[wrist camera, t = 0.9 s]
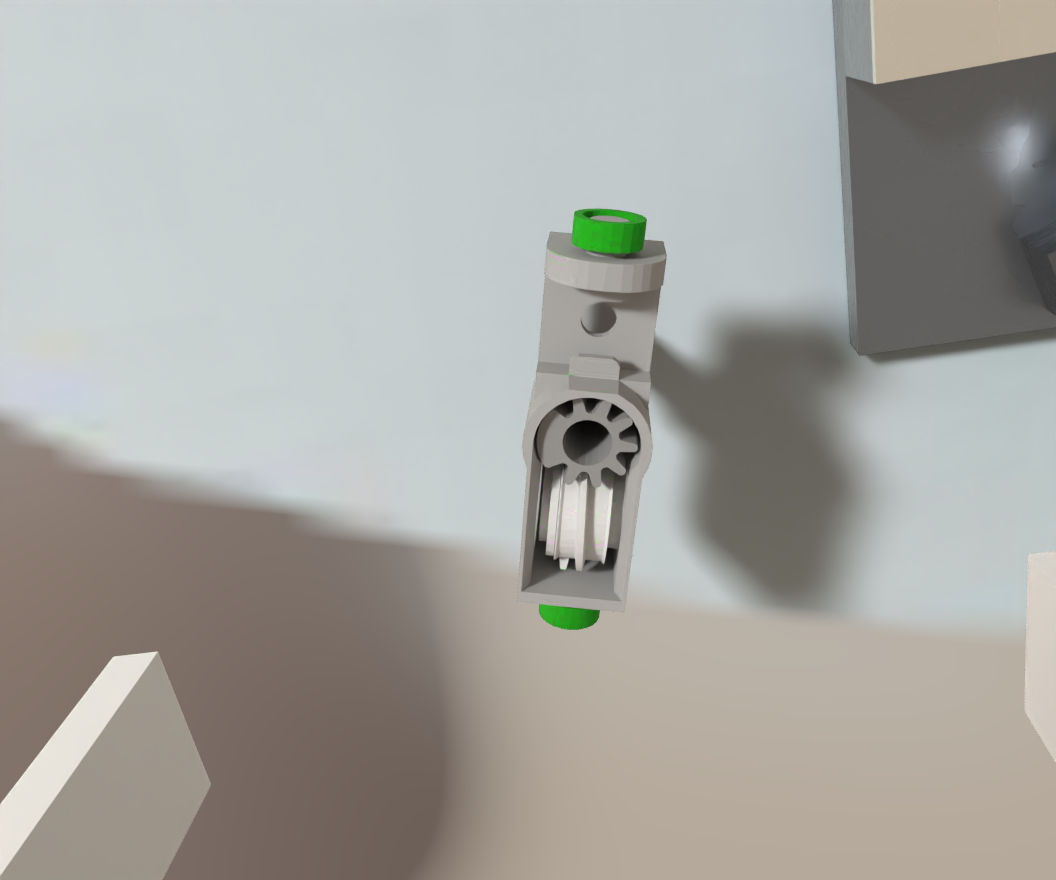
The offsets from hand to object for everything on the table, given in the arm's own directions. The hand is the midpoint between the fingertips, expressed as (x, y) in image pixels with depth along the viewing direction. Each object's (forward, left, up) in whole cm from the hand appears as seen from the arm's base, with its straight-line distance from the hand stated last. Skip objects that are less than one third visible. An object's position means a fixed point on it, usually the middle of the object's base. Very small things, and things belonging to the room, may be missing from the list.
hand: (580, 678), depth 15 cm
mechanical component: (0, 0, -18) cm, 18 cm away
